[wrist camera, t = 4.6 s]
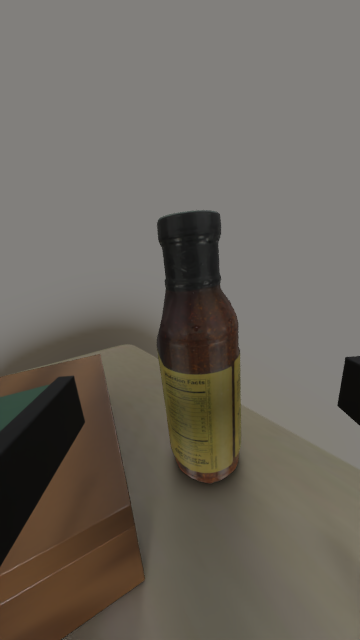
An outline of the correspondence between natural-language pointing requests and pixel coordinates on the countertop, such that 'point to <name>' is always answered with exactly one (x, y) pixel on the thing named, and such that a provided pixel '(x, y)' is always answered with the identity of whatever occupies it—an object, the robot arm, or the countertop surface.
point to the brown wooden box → (70, 518)
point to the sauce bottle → (198, 349)
